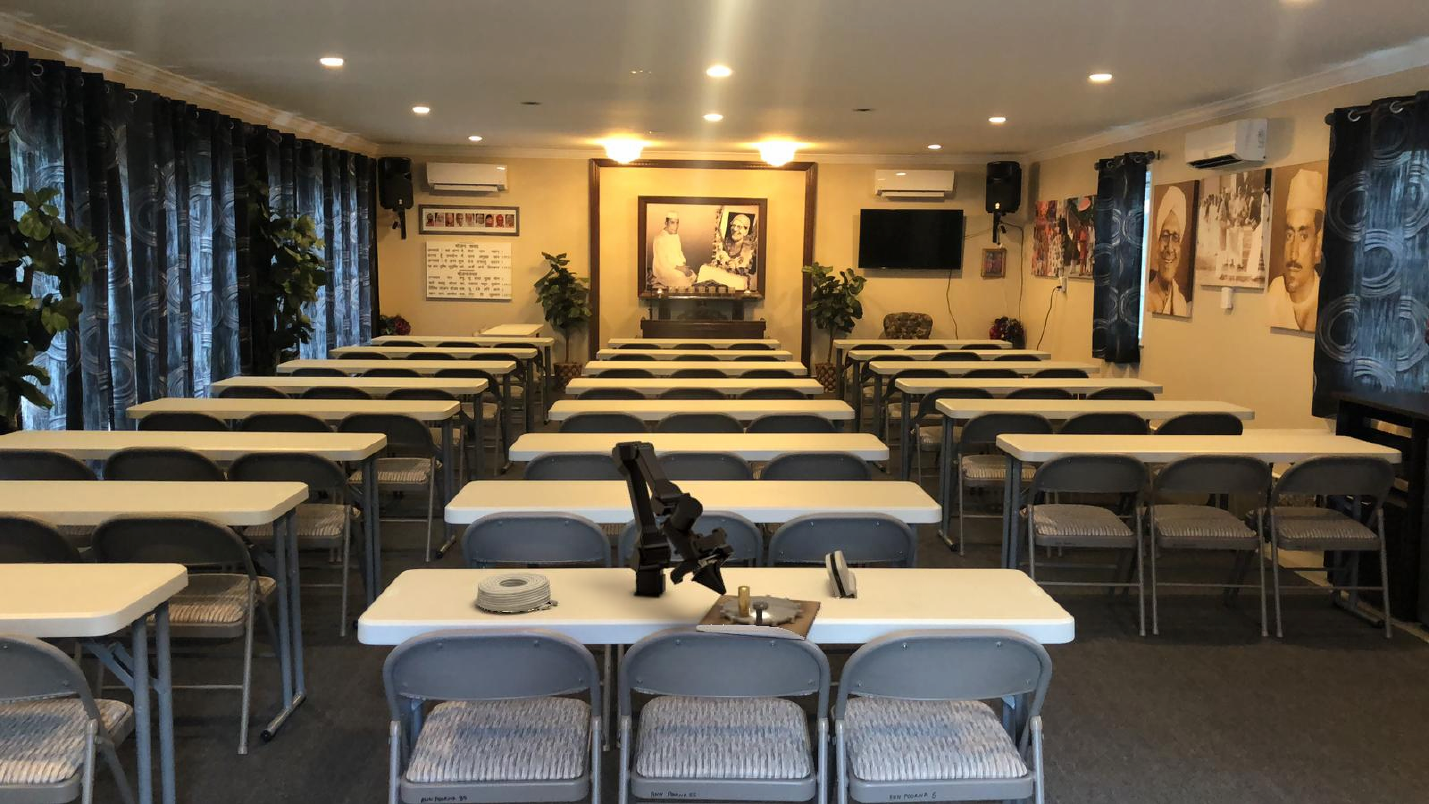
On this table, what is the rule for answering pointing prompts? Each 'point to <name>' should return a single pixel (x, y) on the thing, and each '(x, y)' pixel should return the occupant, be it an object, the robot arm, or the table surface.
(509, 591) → the cable
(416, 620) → the table surface
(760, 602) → the sprocket
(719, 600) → the index board
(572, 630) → the table surface
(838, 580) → the beige layered block
